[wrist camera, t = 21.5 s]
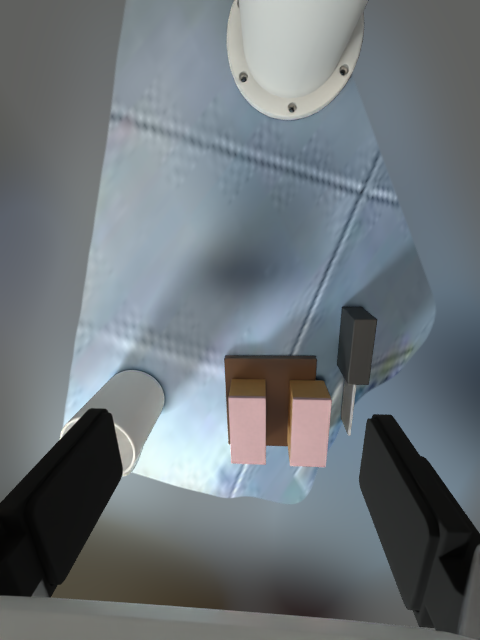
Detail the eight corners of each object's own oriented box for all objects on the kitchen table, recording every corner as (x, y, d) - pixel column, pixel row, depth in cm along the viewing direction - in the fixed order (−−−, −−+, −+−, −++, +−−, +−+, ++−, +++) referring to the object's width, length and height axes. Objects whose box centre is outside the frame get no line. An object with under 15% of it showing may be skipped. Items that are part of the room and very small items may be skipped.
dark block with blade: (341, 306, 35) (354, 319, 30) (361, 306, 35) (377, 319, 30) (332, 415, 40) (341, 440, 35) (349, 415, 40) (361, 441, 35)
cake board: (225, 355, 38) (224, 358, 37) (315, 355, 37) (316, 359, 37) (229, 439, 43) (228, 444, 42) (310, 442, 42) (311, 447, 41)
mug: (122, 438, 44) (81, 502, 34) (101, 370, 41) (48, 418, 30) (176, 435, 43) (150, 500, 33) (159, 365, 40) (124, 413, 29)
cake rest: (231, 378, 38) (228, 397, 34) (265, 379, 38) (265, 398, 34) (234, 439, 41) (231, 463, 37) (265, 440, 41) (265, 464, 37)
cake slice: (289, 379, 38) (293, 399, 34) (324, 380, 37) (332, 400, 33) (287, 441, 41) (290, 466, 37) (318, 442, 41) (325, 467, 36)
